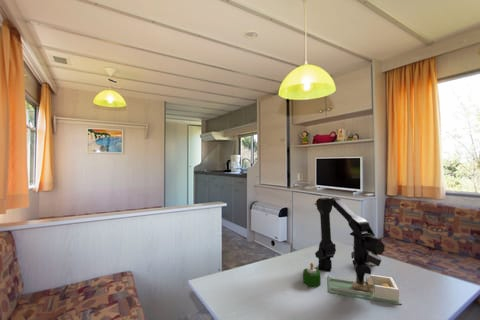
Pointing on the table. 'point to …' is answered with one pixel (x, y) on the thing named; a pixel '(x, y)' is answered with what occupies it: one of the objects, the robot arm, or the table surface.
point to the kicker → (364, 285)
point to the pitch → (379, 294)
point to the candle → (311, 277)
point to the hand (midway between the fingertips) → (360, 279)
